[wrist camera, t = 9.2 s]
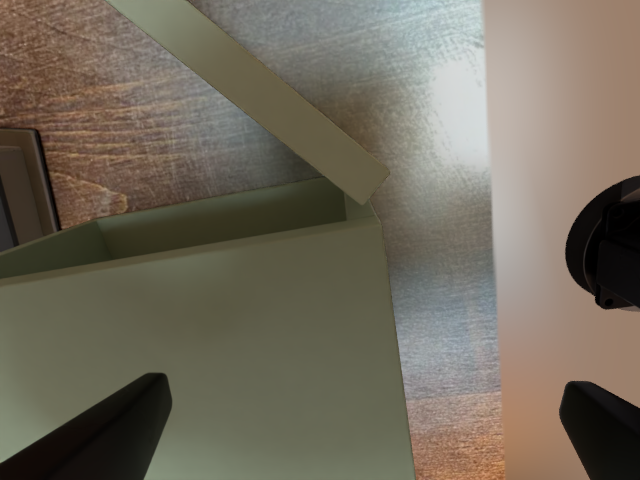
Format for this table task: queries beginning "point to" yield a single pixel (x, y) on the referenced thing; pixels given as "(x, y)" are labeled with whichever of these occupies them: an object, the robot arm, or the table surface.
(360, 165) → the door
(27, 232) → the book
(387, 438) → the cupboard
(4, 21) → the table surface
